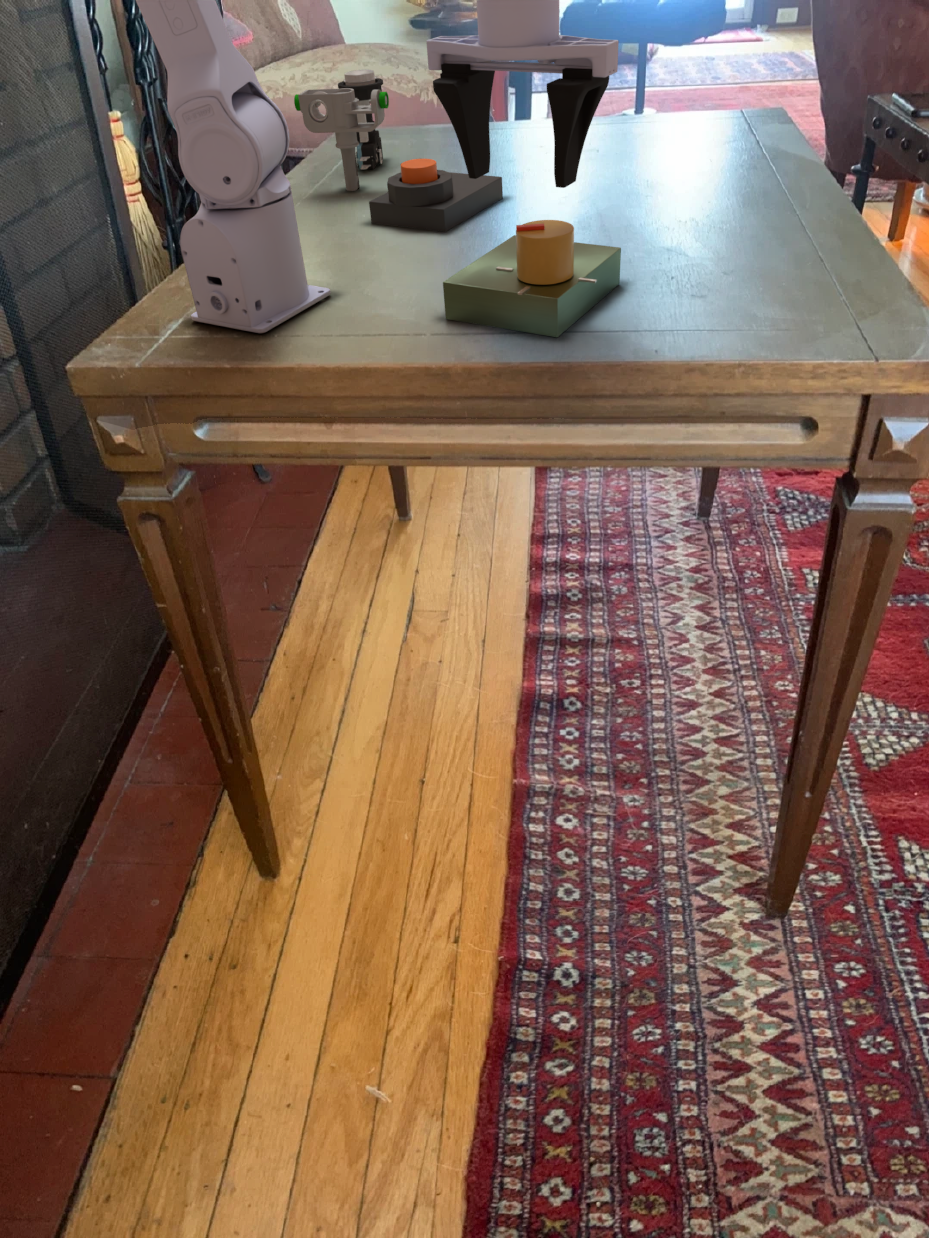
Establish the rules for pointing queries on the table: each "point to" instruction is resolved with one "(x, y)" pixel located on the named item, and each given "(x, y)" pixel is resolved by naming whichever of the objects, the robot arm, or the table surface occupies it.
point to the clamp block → (530, 290)
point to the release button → (419, 171)
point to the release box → (435, 201)
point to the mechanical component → (341, 121)
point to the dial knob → (545, 252)
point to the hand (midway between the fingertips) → (521, 179)
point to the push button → (365, 116)
